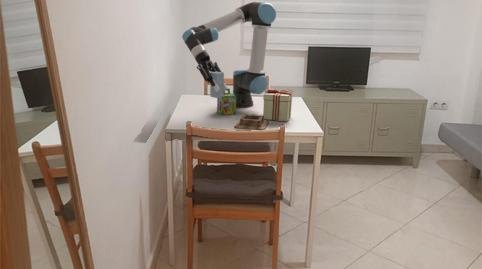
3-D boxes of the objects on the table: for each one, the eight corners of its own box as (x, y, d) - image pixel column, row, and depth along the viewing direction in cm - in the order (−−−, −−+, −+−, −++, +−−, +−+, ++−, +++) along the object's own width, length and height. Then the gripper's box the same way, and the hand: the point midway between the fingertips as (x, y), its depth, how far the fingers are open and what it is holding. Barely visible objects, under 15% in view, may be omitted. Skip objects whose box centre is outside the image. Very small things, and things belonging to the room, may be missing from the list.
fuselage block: (210, 96, 237) (210, 72, 233) (216, 95, 240) (217, 71, 236) (216, 98, 234) (217, 73, 230) (223, 96, 237) (223, 72, 233)
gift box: (291, 114, 269) (293, 86, 264) (289, 122, 252) (291, 92, 246) (264, 112, 271) (265, 84, 266) (260, 120, 254) (261, 90, 249)
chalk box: (221, 115, 261) (222, 91, 257) (216, 111, 269) (216, 87, 265) (236, 114, 265) (236, 90, 260) (230, 110, 273) (231, 87, 268)
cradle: (234, 127, 238) (234, 119, 236) (241, 120, 252) (241, 112, 251) (263, 130, 234) (264, 122, 233) (268, 122, 249) (269, 115, 248)
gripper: (209, 58, 248) (229, 91, 242) (184, 61, 235) (206, 96, 229) (216, 49, 243) (237, 83, 237) (191, 52, 230) (213, 88, 224)
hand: (222, 89), depth 233 cm, fingers closed on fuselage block, 5 cm apart
